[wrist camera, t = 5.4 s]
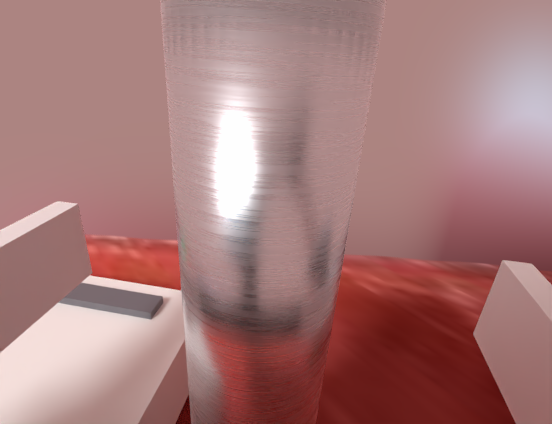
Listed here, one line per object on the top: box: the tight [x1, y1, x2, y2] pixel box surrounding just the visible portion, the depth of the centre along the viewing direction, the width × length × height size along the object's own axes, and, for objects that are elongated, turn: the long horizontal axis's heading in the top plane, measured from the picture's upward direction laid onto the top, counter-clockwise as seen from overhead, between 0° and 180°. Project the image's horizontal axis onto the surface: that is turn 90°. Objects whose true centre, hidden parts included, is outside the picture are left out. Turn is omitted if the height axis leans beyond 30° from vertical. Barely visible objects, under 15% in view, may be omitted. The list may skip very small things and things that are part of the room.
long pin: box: [160, 0, 387, 424], centre depth 9 cm, size 4×4×16 cm
